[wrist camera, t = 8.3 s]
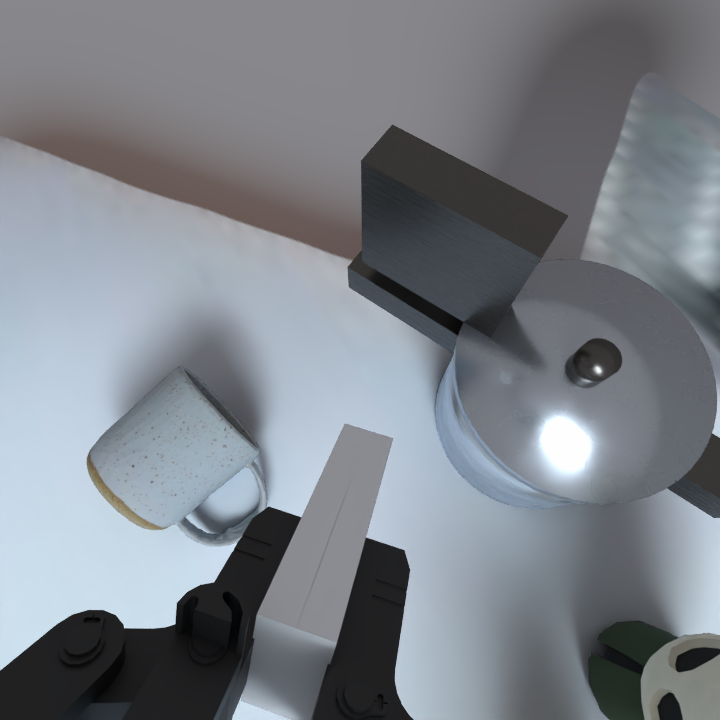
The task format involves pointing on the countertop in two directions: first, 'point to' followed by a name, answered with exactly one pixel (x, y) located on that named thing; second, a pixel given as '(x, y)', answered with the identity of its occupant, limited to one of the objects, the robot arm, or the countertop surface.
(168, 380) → the ceramic mug
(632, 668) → the character mug
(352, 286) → the pot
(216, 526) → the countertop surface
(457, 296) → the lid
